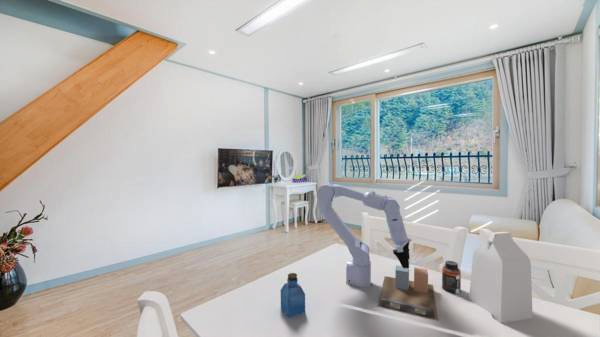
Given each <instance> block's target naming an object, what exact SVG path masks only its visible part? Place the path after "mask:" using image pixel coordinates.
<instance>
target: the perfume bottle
mask: <svg viewBox="0 0 600 337" xmlns="http://www.w3.org/2000/svg"><path fill="white" fill-rule="evenodd" d="M286 279H287V280H286V283H284V284H283V286H282V287H281V289H280V309H281V308H282V309H283V310H282V311H283V313H284V312H285V313H286V314H285V313H284V314H285V315H286V317H287V316H288V317H290V318H292V317H291V316H293V317H295V316H298V315H301V314H304V313H306V294H305V291H304V290H303V288H302V286H301V285H300V284H299V283H298V274H297V273H295V272H290V273H288V274H287V278H286ZM303 312H304V313H303ZM300 313H301V314H300ZM297 314H298V315H297ZM294 315H295V316H294ZM288 317H287V318H288Z"/></svg>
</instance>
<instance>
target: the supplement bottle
mask: <svg viewBox="0 0 600 337" xmlns="http://www.w3.org/2000/svg"><path fill="white" fill-rule="evenodd" d="M441 272H442V273H441V274H442V275H441V277H442V279H441V283H442V284H441V285H442V286H441V289H442V290H443V291H445V292H446V293H449V294H453V295H456V294H460V293H461V288H462V287H461V284H462V282H461V281H462V280H461V278H462V273H461V270H460V268H459V264H458V262H456V261H452V260H446V261H445V264H444V266H443V267H442V271H441Z"/></svg>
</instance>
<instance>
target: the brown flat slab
mask: <svg viewBox="0 0 600 337" xmlns="http://www.w3.org/2000/svg"><path fill="white" fill-rule="evenodd" d="M377 307H380V308H383V309H384V308H385V309H389V310H393V311H396V312H401V313H406V314H409V315H414V316H418V317H422V318H426V319H430V320H436V321H439V317H438V311H437V310H438V308H437V304H436V296H435V290H434V284H431V283H428V291H427V293H426V292H420V291H415V290H414V280H409V288H408V290H404V289H398V288H395V277H391V276H388V275H387V276H384V277H383V282H382V285H381V289H380V294H379V298H378V302H377Z"/></svg>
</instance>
